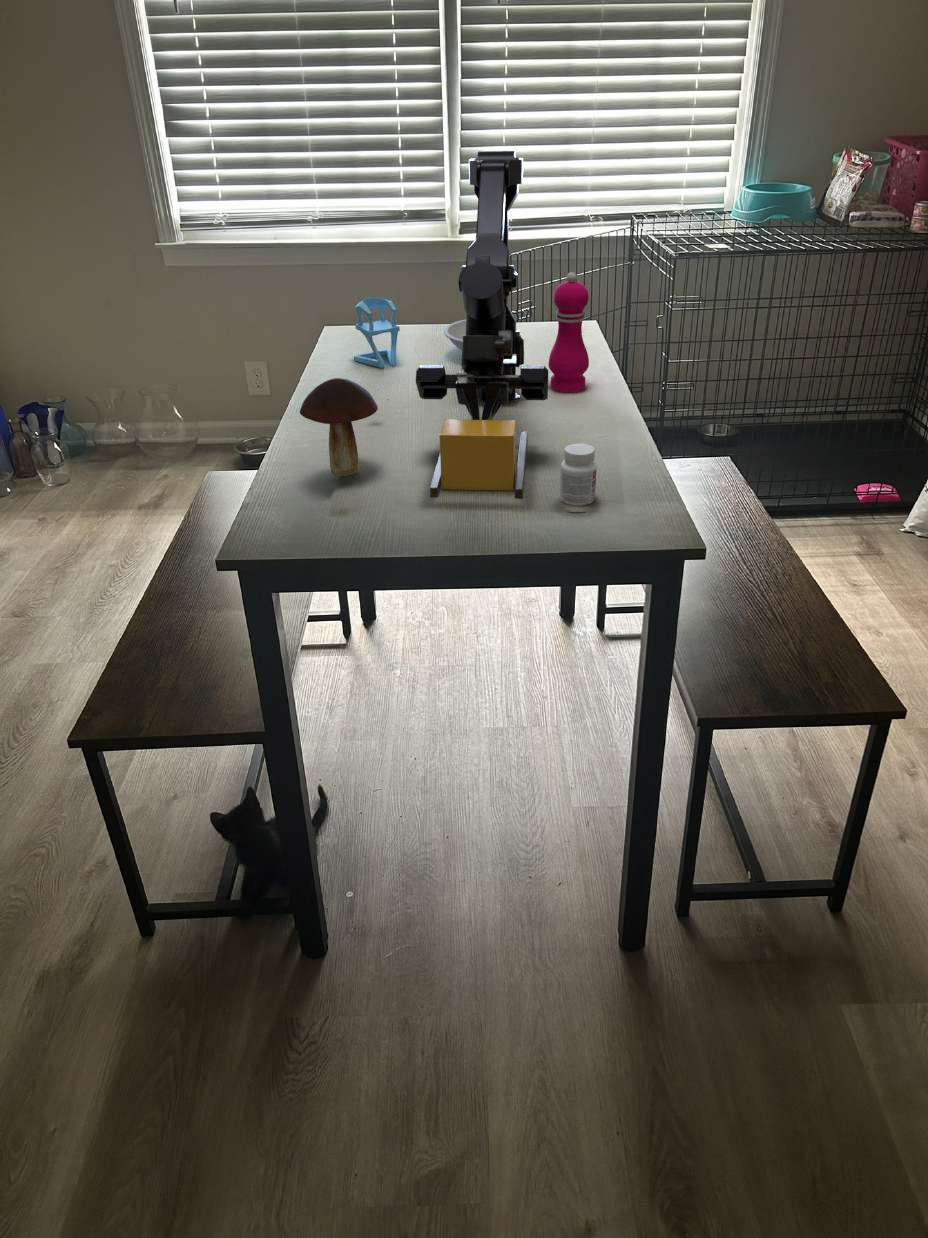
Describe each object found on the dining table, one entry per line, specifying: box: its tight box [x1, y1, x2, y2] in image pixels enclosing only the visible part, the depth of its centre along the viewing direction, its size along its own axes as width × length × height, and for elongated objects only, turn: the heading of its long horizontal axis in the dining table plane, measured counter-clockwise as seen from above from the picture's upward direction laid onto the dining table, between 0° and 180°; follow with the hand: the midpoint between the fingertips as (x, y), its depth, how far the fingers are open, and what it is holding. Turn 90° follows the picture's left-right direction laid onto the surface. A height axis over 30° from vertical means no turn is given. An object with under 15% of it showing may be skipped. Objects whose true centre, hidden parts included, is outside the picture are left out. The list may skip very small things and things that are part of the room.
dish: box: [443, 319, 518, 351], centre depth 189 cm, size 18×14×5 cm
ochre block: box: [439, 419, 517, 492], centre depth 132 cm, size 6×10×8 cm, turn 85°
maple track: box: [429, 431, 529, 499], centre depth 138 cm, size 22×14×3 cm, turn 175°
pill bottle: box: [559, 443, 598, 515], centre depth 127 cm, size 5×5×8 cm
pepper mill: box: [547, 271, 590, 393], centre depth 167 cm, size 7×7×20 cm
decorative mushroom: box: [299, 377, 379, 480], centre depth 135 cm, size 11×11×15 cm
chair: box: [353, 296, 401, 369], centre depth 184 cm, size 8×8×12 cm
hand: (480, 437), depth 134 cm, fingers closed
